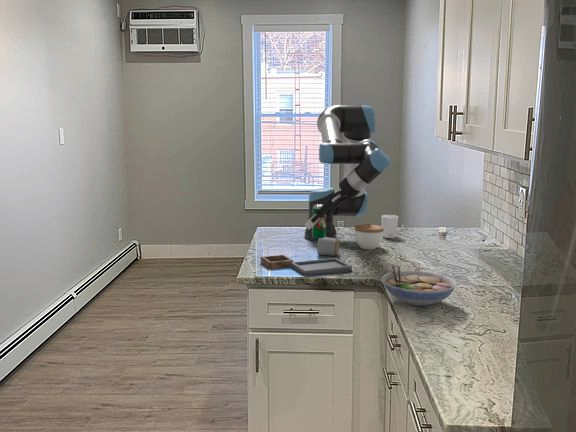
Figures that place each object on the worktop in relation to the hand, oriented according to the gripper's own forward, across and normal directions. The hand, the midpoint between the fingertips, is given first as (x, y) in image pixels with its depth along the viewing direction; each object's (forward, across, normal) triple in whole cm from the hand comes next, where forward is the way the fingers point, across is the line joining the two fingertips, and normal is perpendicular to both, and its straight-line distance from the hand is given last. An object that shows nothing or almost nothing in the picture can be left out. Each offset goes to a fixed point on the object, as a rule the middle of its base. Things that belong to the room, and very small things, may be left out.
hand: (309, 225), depth 219 cm
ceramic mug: (+12, +24, -12) cm, 29 cm away
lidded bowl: (+4, +44, -20) cm, 48 cm away
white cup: (+1, +70, -22) cm, 73 cm away
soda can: (0, 0, -6) cm, 6 cm away
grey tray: (+8, 0, -15) cm, 17 cm away
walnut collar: (+21, -1, -2) cm, 21 cm away
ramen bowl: (-20, -24, -44) cm, 54 cm away
